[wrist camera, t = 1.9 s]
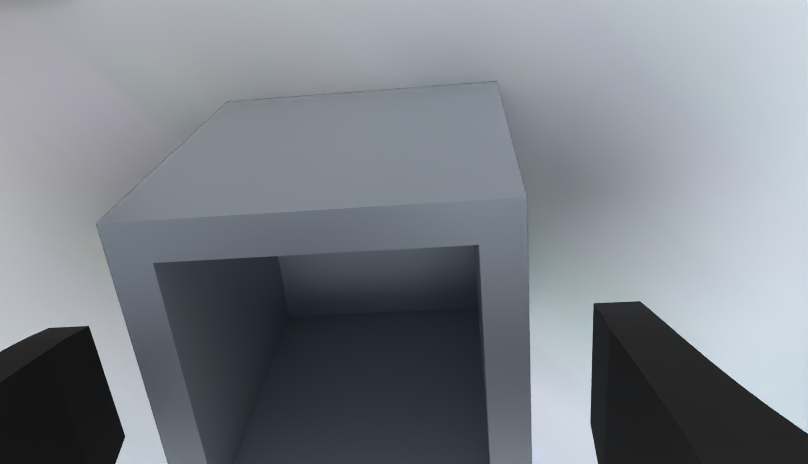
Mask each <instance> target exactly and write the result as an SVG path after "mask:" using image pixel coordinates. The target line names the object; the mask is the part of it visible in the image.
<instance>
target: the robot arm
mask: <svg viewBox="0 0 808 464" xmlns="http://www.w3.org/2000/svg"><path fill="white" fill-rule="evenodd" d="M591 428H592V434H593V439H594V444H595V450H596V455H597V460H598V464H808V434H807V433H806V432H804V431H803V430H802V429H800V428H799V427H797V426H796V425H794V424H793V423H792V422H790V421H789V420H787V419H786V418H784V417H783V416H782V415H780V414H779V413H777V412H776V411H775V410H773V409H772V408H770V407H769V406H768V405H766V404H765V403H764V402H762V401H761V400H760V399H758V398H757V397H756V396H754V395H753V394H752V393H750V392H749V391H748V390H746V389H745V388H744V387H742V386H741V385H740V384H738V383H737V382H736V381H735V380H733V379H732V378H731V377H730V376H728V375H727V374H726V373H725V372H723V371H722V370H721V369H720V368H718V367H717V366H716V365H715V364H713V363H712V362H711V361H710V360H709V359H707V358H706V357H705V356H704V355H702V354H701V353H700V352H699V351H698V350H696V349H695V348H694V347H693V346H692V345H691V344H689V343H688V342H687V341H686V340H685V339H683V338H682V337H681V336H680V335H679V334H678V333H676V332H675V331H674V330H673V329H672V328H671V327H669V326H668V325H667V324H666V323H665V322H664V321H663V320H661V319H660V318H659V317H658V316H657V315H656V314H654V313H653V312H652V311H651V310H650V309H649V308H647V307H646V306H645V305H644V304H642V303H641V302H640V301H638V302H615V303H594V311H593V349H592V386H591ZM124 438H125V435H124V432H123V429H122V426H121V422H120V419H119V416H118V413H117V410H116V407H115V404H114V401H113V398H112V395H111V392H110V389H109V386H108V383H107V380H106V377H105V374H104V371H103V368H102V365H101V362H100V359H99V355H98V352H97V349H96V346H95V343H94V340H93V337H92V334H91V331H90V328H89V326H82V327H59V328H48V329H46V330H44V331H41V332H39V333H37V334H34V335H32V336H30V337H28V338H26V339H24V340H22V341H20V342H18V343H16V344H14V345H12V346H10V347H8V348H6V349H4V350H3V351H1V352H0V464H115V463H116V460H117V458H118V455H119V452H120V449H121V447H122V444H123V441H124Z"/></svg>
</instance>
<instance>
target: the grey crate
mask: <svg viewBox="0 0 808 464" xmlns="http://www.w3.org/2000/svg"><path fill="white" fill-rule="evenodd" d="M96 226H97V229H98V233H99V236H100V239H101V243H102V246H103V249H104V253H105V256H106V259H107V262H108V266H109V269H110V272H111V276H112V279H113V282H114V286H115V289H116V292H117V296H118V299H119V302H120V306H121V309H122V312H123V316H124V319H125V322H126V326H127V329H128V332H129V336H130V339H131V342H132V346H133V349H134V352H135V356H136V359H137V362H138V366H139V369H140V372H141V376H142V379H143V382H144V386H145V389H146V392H147V396H148V399H149V402H150V405H151V409H152V412H153V415H154V419H155V422H156V425H157V429H158V432H159V435H160V439H161V442H162V445H163V449H164V452H165V455H166V459H167V462H168V464H532V442H531V387H530V331H529V276H528V221H527V195H526V191H525V187H524V184H523V180H522V176H521V172H520V168H519V165H518V161H517V157H516V153H515V150H514V146H513V142H512V138H511V134H510V131H509V127H508V123H507V119H506V115H505V112H504V108H503V104H502V100H501V96H500V93H499V89H498V85H497V81H492V82H478V83H465V84H452V85H439V86H426V87H413V88H399V89H386V90H373V91H360V92H347V93H333V94H320V95H307V96H294V97H281V98H268V99H254V100H241V101H228V102H227V103H226V104H225V105H223V106H222V107H221V108H220V109H219V110H218V111H217V112H216V113H215V114H214V115H213V116H212V117H210V118H209V119H208V120H207V121H206V122H205V123H204V124H203V125H202V126H201V127H200V128H199V129H198V130H196V131H195V132H194V133H193V134H192V135H191V136H190V137H189V138H188V139H187V140H186V141H185V142H183V143H182V144H181V145H180V146H179V147H178V148H177V149H176V150H175V151H174V152H173V153H172V154H170V155H169V156H168V157H167V158H166V159H165V160H164V161H163V162H162V163H161V164H160V165H159V166H158V167H156V168H155V169H154V170H153V171H152V172H151V173H150V174H149V175H148V176H147V177H146V178H145V179H143V180H142V181H141V182H140V183H139V184H138V185H137V186H136V187H135V188H134V189H133V190H132V191H131V192H129V193H128V194H127V195H126V196H125V197H124V198H123V199H122V200H121V201H120V202H119V203H118V204H116V205H115V206H114V207H113V208H112V209H111V210H110V211H109V212H108V213H107V214H106V215H105V216H103V217H102V218H101V219H100V220H99V221H98V222H97V223H96Z"/></svg>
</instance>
